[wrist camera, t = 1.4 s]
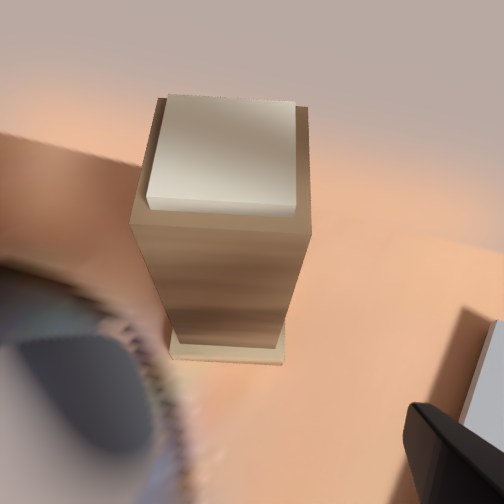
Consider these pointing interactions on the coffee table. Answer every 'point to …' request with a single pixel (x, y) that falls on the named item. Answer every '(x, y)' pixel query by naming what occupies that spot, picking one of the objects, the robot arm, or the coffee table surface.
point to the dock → (487, 390)
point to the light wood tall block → (225, 222)
